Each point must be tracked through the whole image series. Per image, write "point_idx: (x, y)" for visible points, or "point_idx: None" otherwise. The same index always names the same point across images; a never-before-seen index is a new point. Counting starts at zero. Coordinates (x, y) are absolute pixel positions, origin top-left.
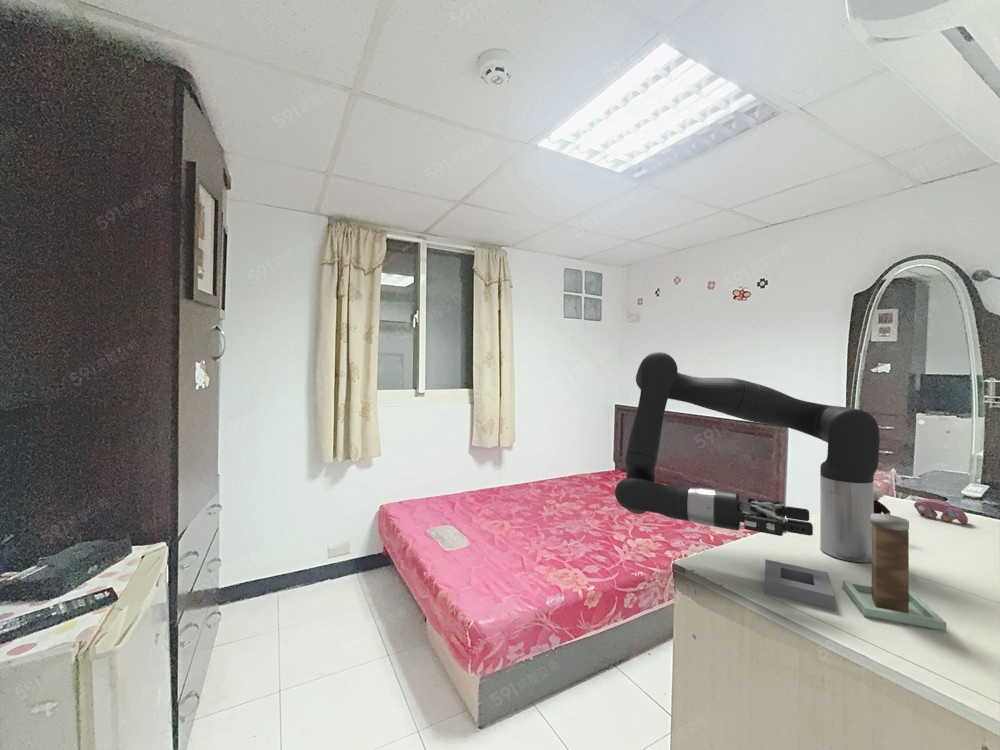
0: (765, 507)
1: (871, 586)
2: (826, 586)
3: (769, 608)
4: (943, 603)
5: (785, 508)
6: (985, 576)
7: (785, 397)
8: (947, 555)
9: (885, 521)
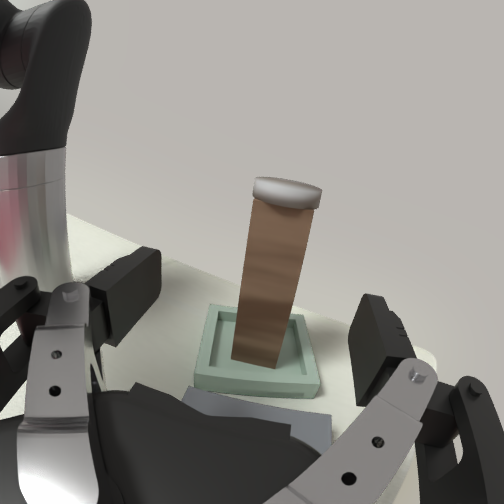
0: (110, 414)
1: (209, 341)
2: (283, 417)
3: None
4: (198, 294)
5: (96, 300)
6: (121, 239)
7: None
8: (74, 236)
9: (319, 192)
